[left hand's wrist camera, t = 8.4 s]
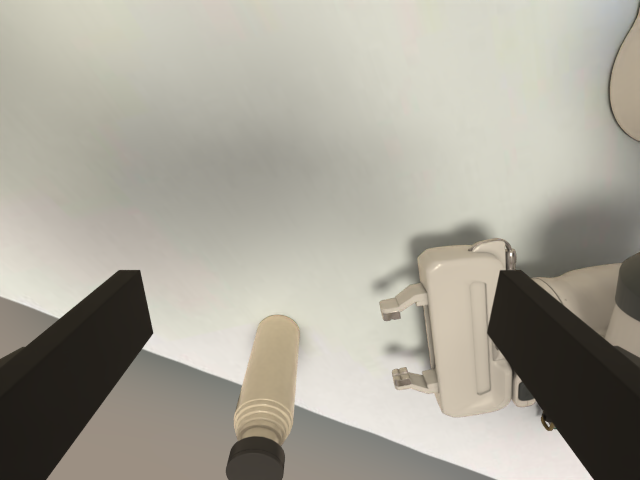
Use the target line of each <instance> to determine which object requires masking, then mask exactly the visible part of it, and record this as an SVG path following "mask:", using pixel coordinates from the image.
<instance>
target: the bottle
mask: <svg viewBox="0 0 640 480" xmlns="http://www.w3.org/2000/svg"><path fill="white" fill-rule="evenodd" d="M299 338H300V331H299V328H298V326H297V324H296V323H295V322H294V321H293V320H292V319H290V318H288V317H286V316H282V315H273V316H269V317H267V318H265V319H264V320H262V321H261V322H260V324H259V326H258V328H257V332H256V336H255V339H254V343H253V347H252V351H251V354H250V358H249V362H248V366H247V369H246V373H245V377H244V381H243V384H242V388H241V392H240V396H239V399H238V403H237V407H236V411H235V415H234V428H235V432H236V435H237V439H238V441H239V440H241V439H243V438H246V437H251V436H260V437H266V438H269V439H272V440H273V441H275V442H277V443H278V444H279V445H280V446H282V444H283V443H284V441H285V440H286V438H287V436H288V435H289V433H290V431H291V428H292V425H293V416H294V403H295V390H296V377H297V364H298V351H299Z"/></svg>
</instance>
